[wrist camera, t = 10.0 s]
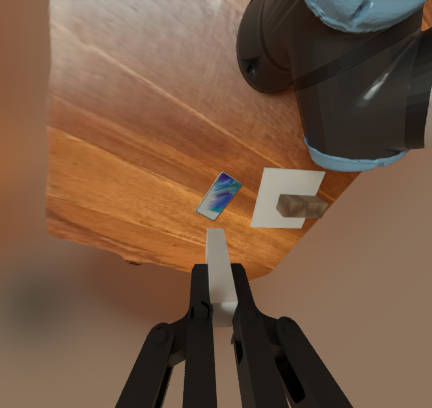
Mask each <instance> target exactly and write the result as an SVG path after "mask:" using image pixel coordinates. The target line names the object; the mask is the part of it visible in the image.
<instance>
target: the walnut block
mask: <svg viewBox="0 0 432 408" xmlns="http://www.w3.org/2000/svg"><path fill="white" fill-rule="evenodd" d="M328 204H329V203H327V202H326V201H324V200H323V199H321V198H320V197H318V196H310V195H289V194H280V196H279V199H278V203H277V206H276V209H277V211H278V212H279V213H280V214H281V215H282V217H291V218H322V216H323V214H324V212H325V210H326V208H327V206H328Z"/></svg>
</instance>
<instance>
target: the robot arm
mask: <svg viewBox="0 0 432 408" xmlns="http://www.w3.org/2000/svg"><path fill="white" fill-rule="evenodd" d="M426 1H427V0H251V1H250V2H249V4H248V6H247V8H246V10H245V13H244V15H243V18H242V20H241V23H240V26H239V30H238V35H237V43H236V52H237V60H238V65H239V68H240V71H241V73H242V75H243V77H244V78H245V80H246V81H247V82H248V84H249V85H250V86H252V87H253V88H254V89H256V90H258V91H261V92H266V93H271V92H276V91H279V90H282V89H284V88H286V87H288V86H290V85H291V84H294V88H295V94H296V99H297V103H298V108H299V113H300V117H301V122H302V126H303V131H304V141H305V144H306V145H307V147H308V150H309V153H310V157H311V159H312V160H313V161H314V162H315V163H316V164H318V165H319V166H321V167H323V168H326V169H329V170H334V171H342V172H359V171H367V170H373V169H375V167H376V166H380V167H384V166H387V165H390V164H392V163H394V162H396V161H398V160H400V159H401V158H402V157H403V156H404V155H405V154H406V153H407V152H408V151H409V150H410V149H420V148H429V147H431V146H432V28H429V29H427V30H425V31H421V25H422V15H423V6H424V3H425V2H426ZM232 324H233V331H234V333H233V335H232V339H231V344H234V351H235V358H236V365H237V372H238V380H239V387H240V394H241V401H242V408H289V406H288V403H287V399H288V401H289V403H290V406H291V408H353V407H352V405H351V404H350V402H349V401H348V399H347V398H346V396H345V395H344V393H343V392H342V390H341V389H340V387H339V386H338V384H337V383H336V381H335V380H334V378H333V377H332V375H331V374H330V372H329V371H328V369H327V368H326V366H325V365H324V363H323V362H322V360H321V359H320V357H319V356H318V354H317V353H316V351H315V350H314V348H313V347H312V345H311V344H310V342H309V341H308V339H307V338H306V337H305V335H304V334H303V332H302V330H301V329H300V327H299V326H298V325H297V323H296V322H295V321H294V320H292V319H291V318H289V317H280V318H279V319H275V318H272V317H269V316H266V315H264V314H263V313H261V312H260V311H259V310H258V309H257V307H256V306H255V303H254V300H253V297H252V293H251V290H250V286H249V282H248V279H247V276H246V272H245V269H244V267H243V266H242V265H241V263H230V260H229V255H228V250H227V245H226V240H225V234H224V229H214V228H207V239H206V264H195V265H194V267H193V269H192V276H191V292H190V305H189V310H188V312H187V313H186V315H185V316H184V317H183V318H182V319H180V320H178V321H176V322H174V323H171V324H168V323H159V324H157V325H156V326H155V327H153V328H152V329H151V331H150V332H149V334H148V336H147V338H146V340H145V342H144V344H143V347H142V349H141V351H140V353H139V356H138V358H137V360H136V362H135V364H134V366H133V369H132V371H131V373H130V375H129V378H128V380H127V382H126V384H125V386H124V389H123V391H122V393H121V395H120V397H119V400H118V402H117V404H116V406H115V408H162V406H163V403H164V399H165V395H166V392H167V389H168V385H169V382H170V378H171V375H172V371H173V368H174V366H175V365H176V364H178V363H180V362H182V361H184V360H185V359H186V362H185V377H184V392H183V407H182V408H217V396H216V379H215V359H214V342H213V328H214V327H230V326H231V325H232ZM285 395H286V396H285ZM286 397H287V399H286Z"/></svg>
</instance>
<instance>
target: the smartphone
mask: <svg viewBox="0 0 432 408" xmlns="http://www.w3.org/2000/svg"><path fill="white" fill-rule="evenodd" d="M241 186H242V184H241V183H240V182H239V181H237V180H236V179H234V178H233V177H231V176H230V175H228V174H227V173H225V172H221V173H220V175H219V176H218V178H217V179H216V181H215V182H214V184H213V185H212V186H211V188H210V189H209V191H208V192H207V194H206V195H205V197H204V198H203V200H202V201H201V202H200V204H199V205H198V207H197V208H196V212H197V213H199V214H201V215H203V216H204V217H206V218H208V219H210V220H212V221H214V220H216V218H217V217H218V216H219V214H220V213H221V212H222V211H223V209H224V208H225V207H226V205H227V204H228V203H229V201H230V200H231V199H232V198H233V196H234V195H235V194H236V193H237V191H238V190H239V189H240V187H241Z"/></svg>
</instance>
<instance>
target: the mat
mask: <svg viewBox="0 0 432 408" xmlns="http://www.w3.org/2000/svg"><path fill="white" fill-rule="evenodd" d="M325 173H326V172H325V171H311V170H296V169H282V168H267V167H264V172H263V176H262V180H261V184H260V188H259V192H258V197H257V201H256V205H255V209H254V213H253V217H252V222H251V227H267V228H301V227H302V225H303V223H304V221H305V218H291V217H282V215H281V214H280V213H279V212H278V211H277V209H276V206H277V203H278V199H279V196H280V194H289V195H310V196H315V195H316V193H317V191H318V189H319V186H320V184H321V182H322V179H323V177H324V175H325Z"/></svg>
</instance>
